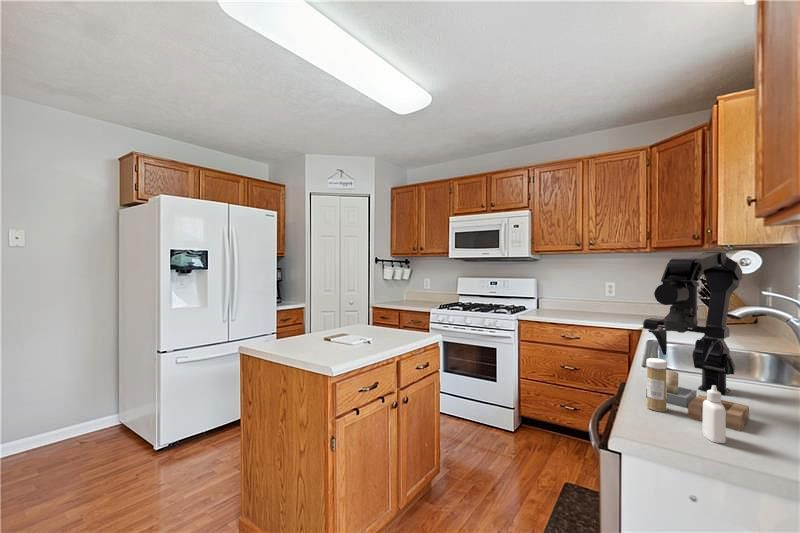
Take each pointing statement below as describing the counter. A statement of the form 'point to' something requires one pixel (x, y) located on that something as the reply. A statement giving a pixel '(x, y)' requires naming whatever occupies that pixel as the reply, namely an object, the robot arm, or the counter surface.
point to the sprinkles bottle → (656, 384)
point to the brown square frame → (734, 411)
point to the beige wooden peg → (672, 382)
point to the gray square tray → (681, 397)
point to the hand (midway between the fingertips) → (683, 357)
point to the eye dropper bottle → (714, 417)
